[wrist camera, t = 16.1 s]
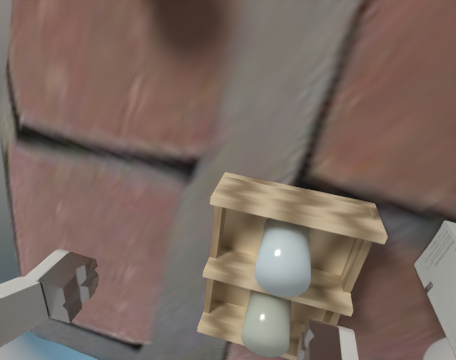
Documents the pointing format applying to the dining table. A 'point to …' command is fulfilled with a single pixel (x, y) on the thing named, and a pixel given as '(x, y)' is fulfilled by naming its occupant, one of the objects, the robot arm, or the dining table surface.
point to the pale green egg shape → (267, 324)
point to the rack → (250, 243)
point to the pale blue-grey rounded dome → (284, 259)
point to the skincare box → (441, 277)
